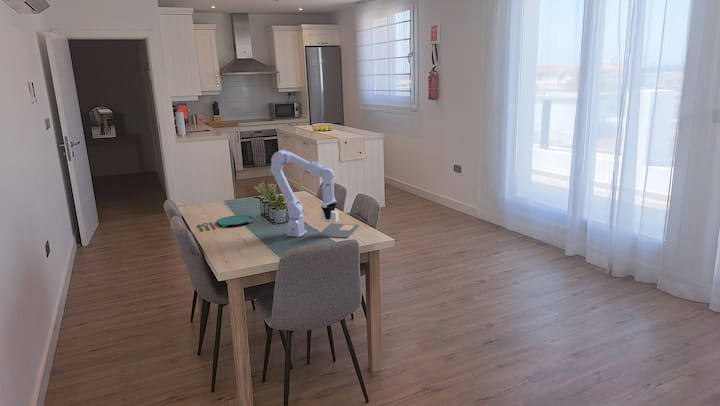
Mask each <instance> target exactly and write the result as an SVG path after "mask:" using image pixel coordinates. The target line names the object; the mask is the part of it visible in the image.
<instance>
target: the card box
mask: <svg viewBox="0 0 720 406" xmlns="http://www.w3.org/2000/svg"><path fill="white" fill-rule="evenodd" d="M339 220H340V218H339V210H334V211H332V210H331V217H330V220H328V219H326V218H325V215H324V212H323V210H322V211H320V222H322V223H335V224H337V222H338V221H339Z"/></svg>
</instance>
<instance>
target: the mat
mask: <svg viewBox="0 0 720 406" xmlns="http://www.w3.org/2000/svg"><path fill="white" fill-rule="evenodd" d="M359 226H360V225H359V224H354V223H352V224H351V223H335V222H330V223H329V224H328V225H327V226H326V227H325V228H324V229H322V230H321V231H320V232H319V233H317V235H316V237H320V238H335V239H348V238H350V237H351V235H352V234H353V233H354V232H355V231H356V230H357V228H358V227H359Z"/></svg>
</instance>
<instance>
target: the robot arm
mask: <svg viewBox="0 0 720 406" xmlns="http://www.w3.org/2000/svg"><path fill="white" fill-rule="evenodd" d="M270 161H271V166H270V171H271V174H272V176H273V178H274V180H275V182H276V183H277V185H278V187H279V190H280V193H282V196H283V198H284V201H286V202H285V203H286V209H287V212H288V213H287V214H288V217H289V220H288V222H287V224H286V225H287V233H286V237H302V236H303V235H304V234H306V233H308V230H305V219H304V218H305V217H304V214H303V212H304V210H305V209H304V205H303V203H301V202H300V201H299V199H298V197H296V195H295V194H294V191H293V190H292V188H291V186H290V183H289V181H288V179H287V178H286V175H285V174H284V171H283V168H284V165H285V164H288V163H294V164H297V165H298V166H301V167H303V168H306V169H307V172H309V173H311V174H313V175H315V176H318V177H319V178H321V180H322V205H321V206H320V208H321V210H322V211H323V212H324V215H325V218H326V219H328V220H330V217H331V210H332V211H336V206H337V200H336V197H335V184H334V182H335V181H334V176H335V171H334V170H333V169H332V168H331V167H328V166H326V165H325V166H324V165H322V164H320V163H319V161H308V160H306V159H304V158H303V157H300V156H299V155H297V154H295V153H293V152H291V151H289V150H286V149H279V150H278V151H275V152H274V153H273V155H272V157H271V159H270Z"/></svg>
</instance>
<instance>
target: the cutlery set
mask: <svg viewBox="0 0 720 406" xmlns="http://www.w3.org/2000/svg"><path fill="white" fill-rule="evenodd" d="M252 222H253V217H252V216H250V215H249V214H237V215H231V216H224V217H221V218H219V219H216V223H217V225H219V226H221V227H222V228H227V227H233V226H240V225H245V224H247V223H248V224H250V223H252ZM209 224H210V225H211V227H212V228H213V229H214V230H215V231H216V227H215V225H214V224H213V222H210V221H209V223H207V222H205V223H202V224H197V228H199V229H200V230H201V232H204V228H202V227H206V228H207V230H208V231H210V230H211V228H210V227H209Z"/></svg>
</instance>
